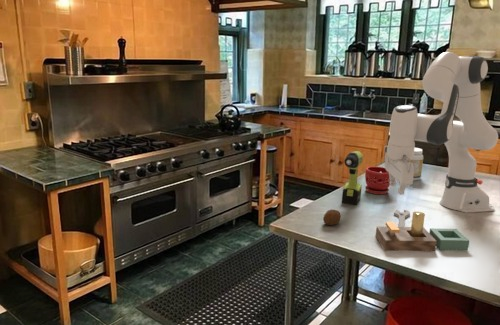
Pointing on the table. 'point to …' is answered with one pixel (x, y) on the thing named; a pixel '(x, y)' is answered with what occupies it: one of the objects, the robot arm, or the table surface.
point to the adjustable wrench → (401, 217)
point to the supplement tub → (417, 163)
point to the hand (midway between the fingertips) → (396, 189)
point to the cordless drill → (352, 179)
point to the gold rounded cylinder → (417, 224)
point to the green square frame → (449, 239)
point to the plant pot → (377, 180)
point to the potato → (332, 217)
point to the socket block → (405, 240)
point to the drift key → (392, 228)
